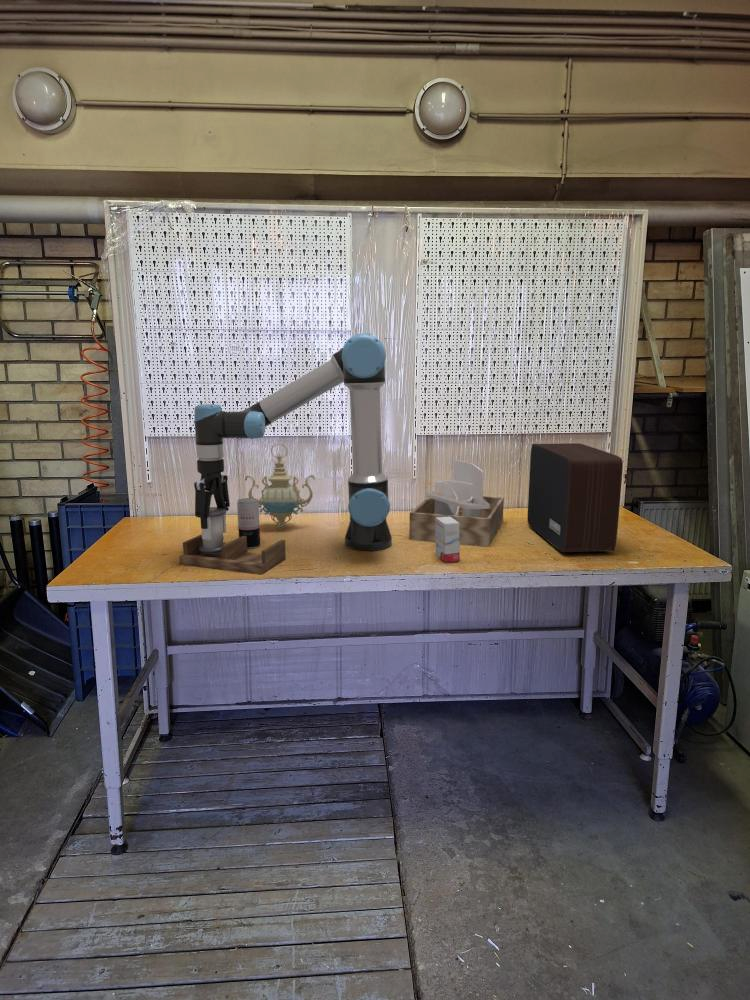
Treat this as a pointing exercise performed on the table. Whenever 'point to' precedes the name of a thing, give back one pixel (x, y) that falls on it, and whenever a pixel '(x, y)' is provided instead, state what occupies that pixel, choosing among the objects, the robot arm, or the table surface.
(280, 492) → the ornate lidded vase
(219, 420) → the robot arm
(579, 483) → the brown wooden speaker
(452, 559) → the ink box
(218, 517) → the cable reel
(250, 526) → the beverage can
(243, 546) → the wooden divided tray
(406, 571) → the table surface
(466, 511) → the architectural model
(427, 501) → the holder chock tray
